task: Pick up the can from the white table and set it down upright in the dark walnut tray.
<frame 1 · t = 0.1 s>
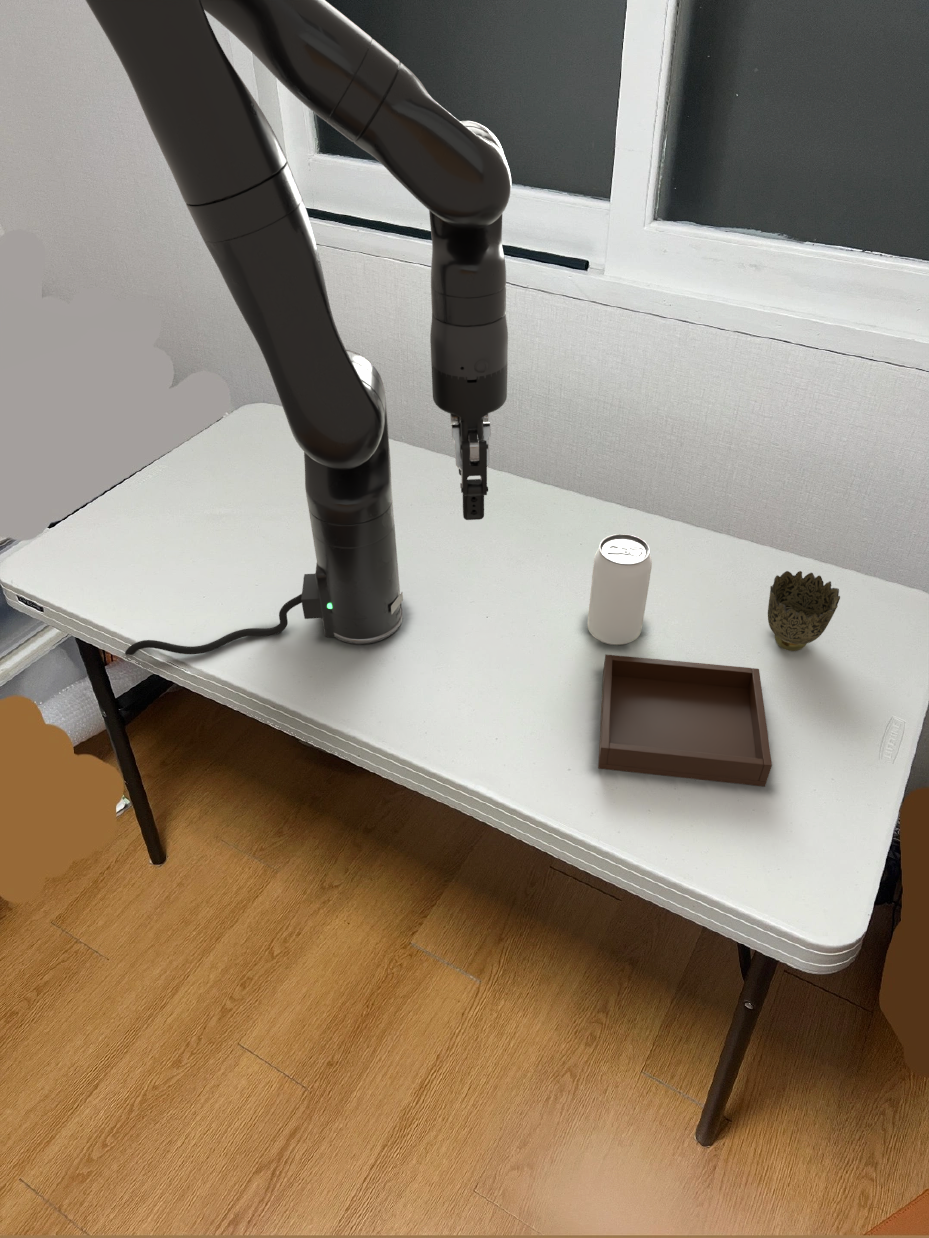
hand: (470, 495, 98), 17 cm above the table, tool pointing down, fingers open, 8 cm apart
tray: (678, 727, 95), on the table
cup: (789, 644, 105), on the table
can: (613, 630, 107), on the table
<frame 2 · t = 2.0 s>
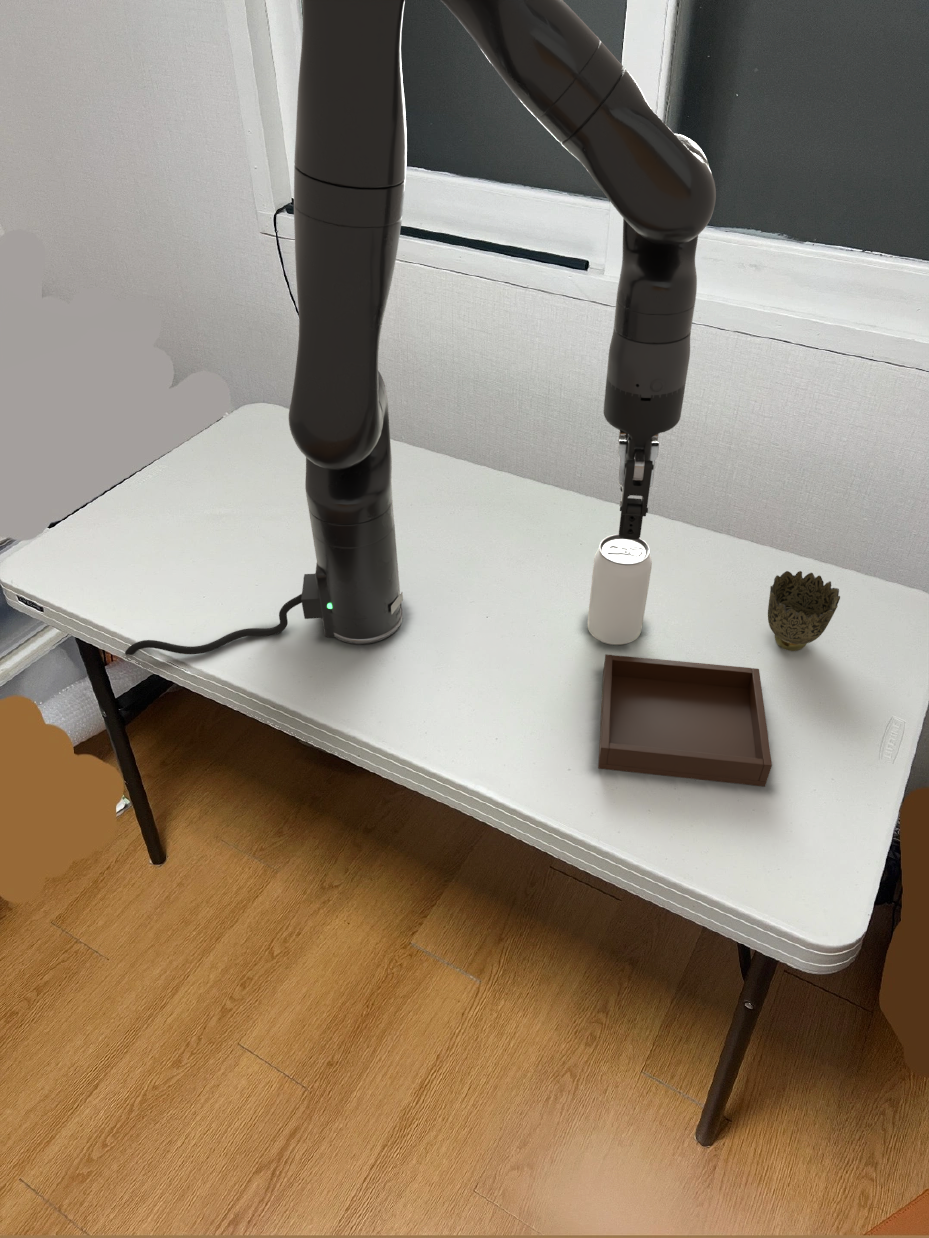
hand: (629, 513, 96), 17 cm above the table, tool pointing down, fingers open, 8 cm apart
nothing on the table moved.
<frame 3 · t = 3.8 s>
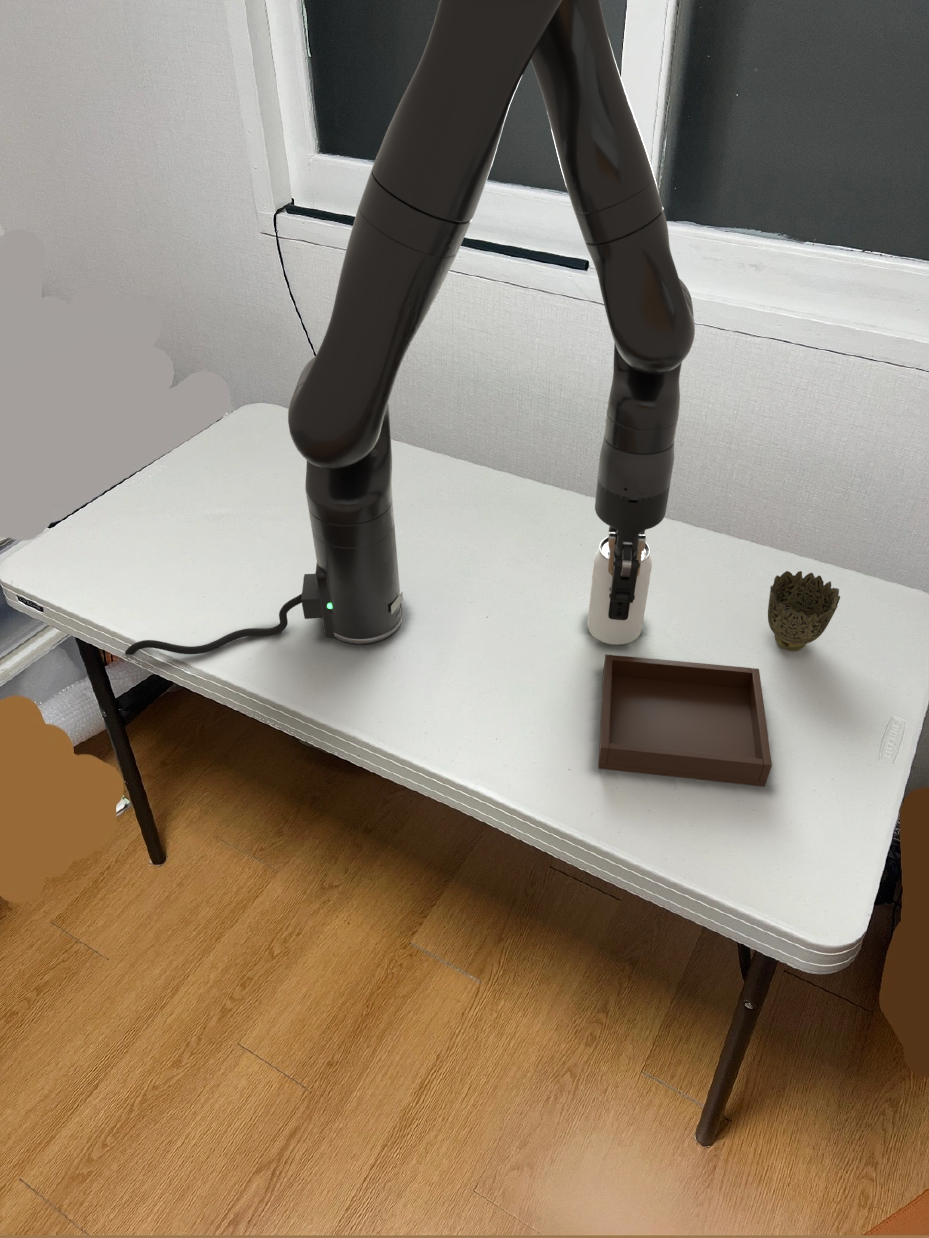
hand: (618, 597, 104), 5 cm above the table, tool pointing down, fingers closed on can, 6 cm apart
can: (613, 630, 107), on the table, touching gripper
everything else where it was.
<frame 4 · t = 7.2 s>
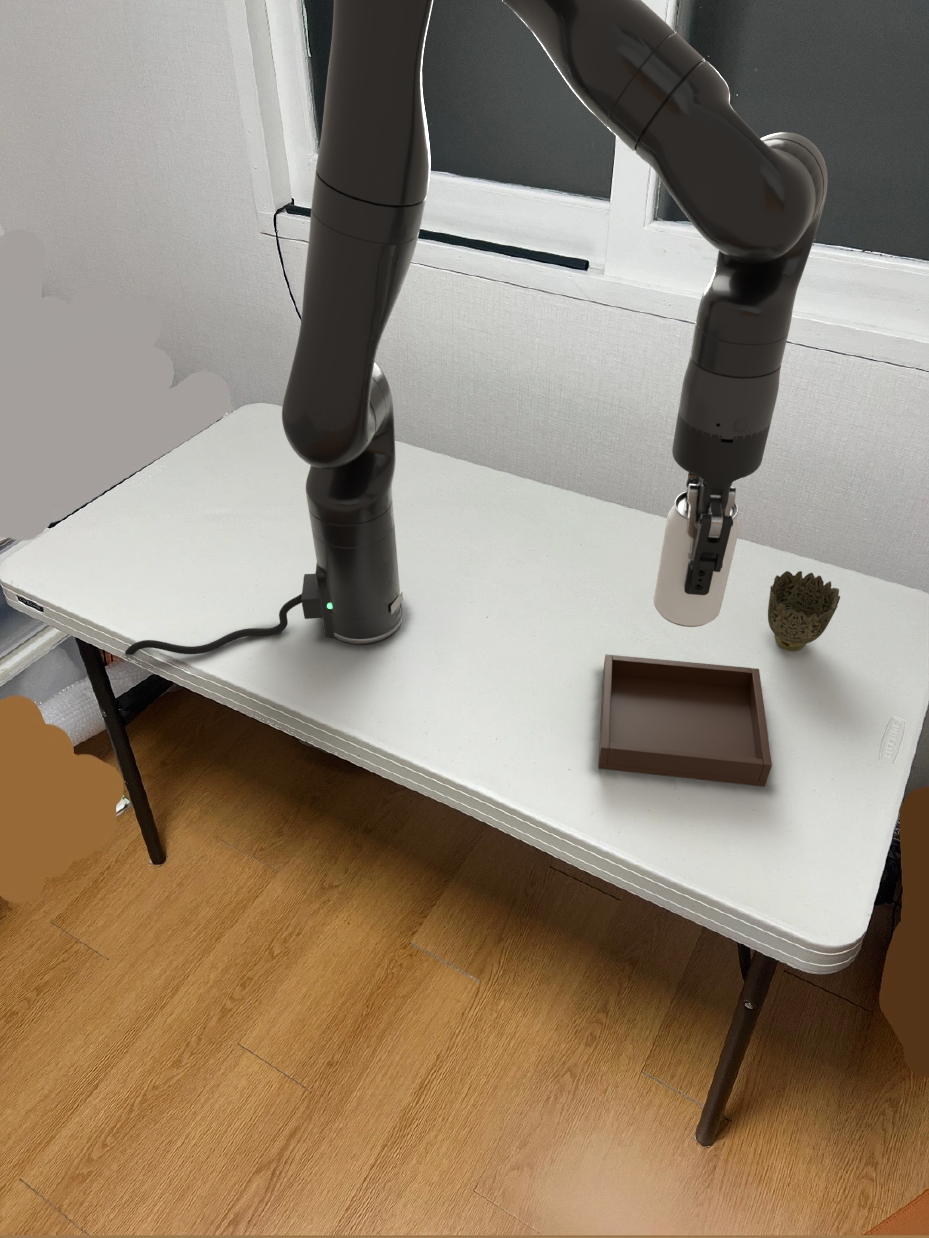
hand: (694, 568, 85), 19 cm above the table, tool pointing down, fingers closed on can, 6 cm apart
can: (685, 608, 88), point 14 cm above the table, touching gripper
everything else where it was.
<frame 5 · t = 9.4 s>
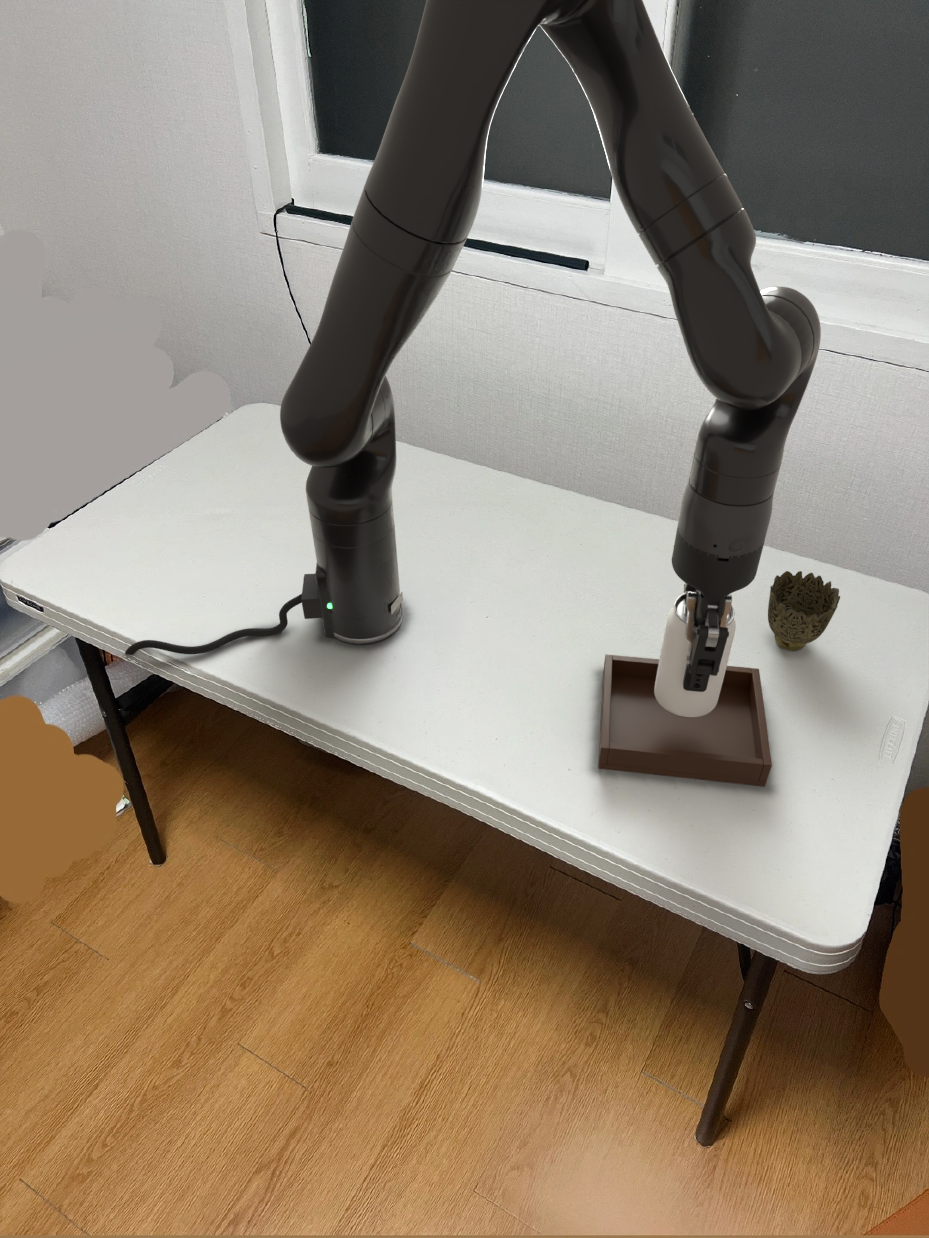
hand: (692, 663, 89), 10 cm above the table, tool pointing down, fingers closed on can, 6 cm apart
can: (684, 698, 92), point 4 cm above the table, touching gripper
everything else where it was.
when the fingers open (6 cm above the table, at t = 11.0 s): can stays where it is, resting on tray.
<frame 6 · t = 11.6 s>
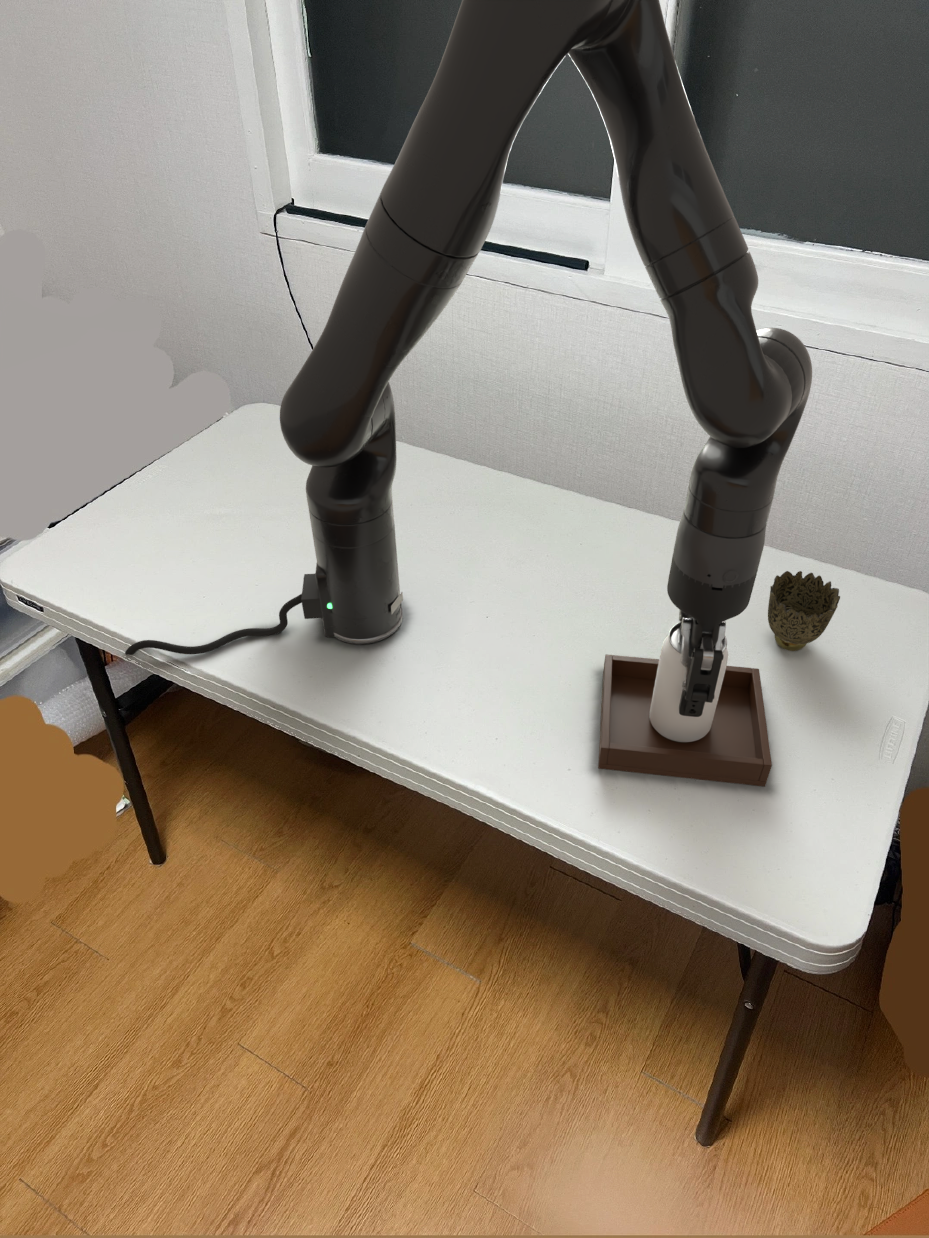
hand: (688, 682, 91), 7 cm above the table, tool pointing down, fingers open, 8 cm apart
can: (679, 722, 95), point 1 cm above the table, touching tray
everything else where it was.
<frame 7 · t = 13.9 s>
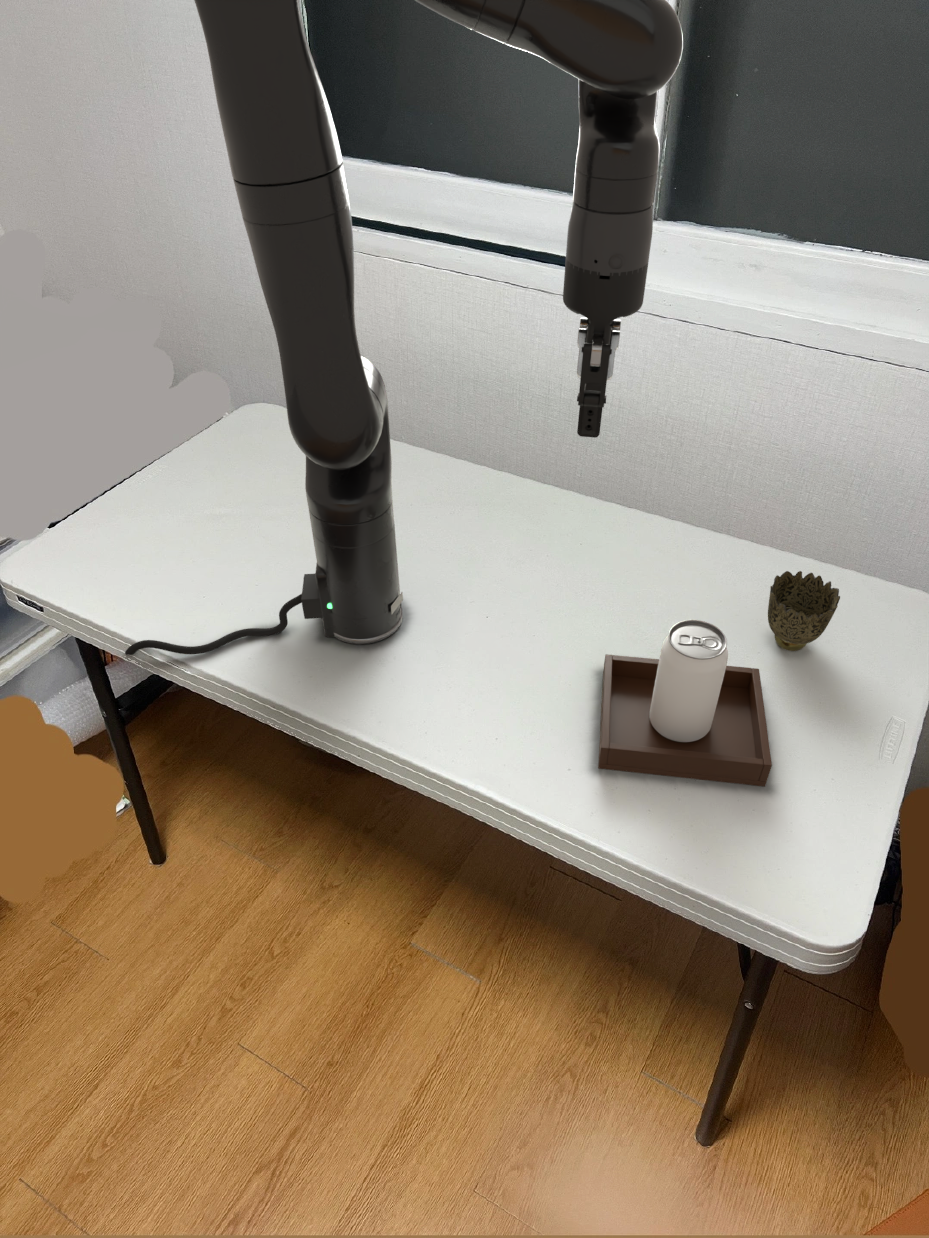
hand: (590, 414, 92), 27 cm above the table, tool pointing down, fingers open, 8 cm apart
nothing on the table moved.
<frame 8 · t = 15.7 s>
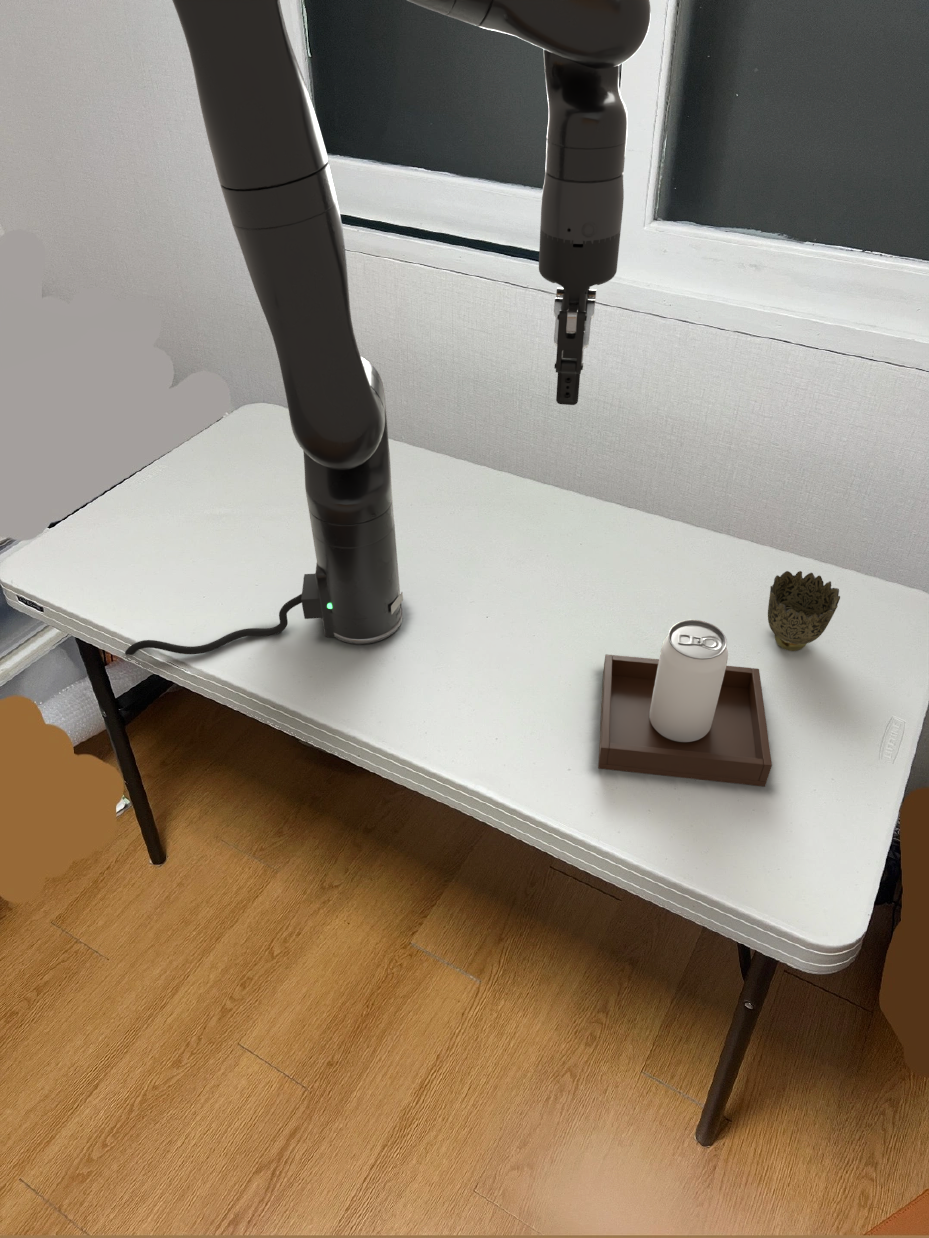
hand: (569, 383, 94), 28 cm above the table, tool pointing down, fingers open, 8 cm apart
nothing on the table moved.
at the end: can inside the target area in the tray (0.1 cm from its centre), point 0.6 cm above the tray's base; can tilted 0°; the gripper is holding nothing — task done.
